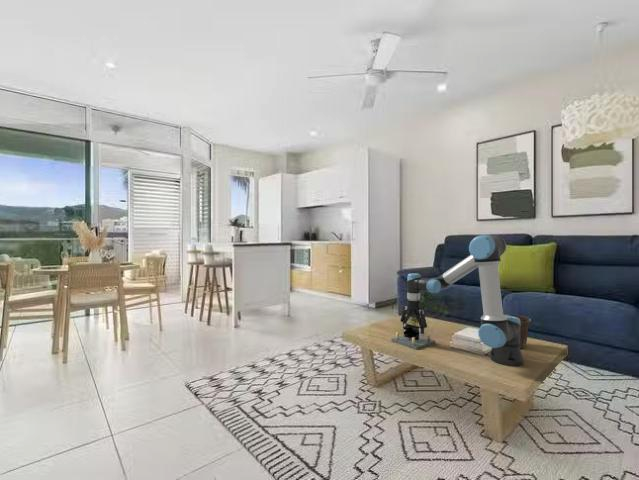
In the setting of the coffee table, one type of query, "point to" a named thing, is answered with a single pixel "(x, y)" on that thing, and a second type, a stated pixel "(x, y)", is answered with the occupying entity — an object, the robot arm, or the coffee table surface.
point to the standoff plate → (417, 342)
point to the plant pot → (523, 329)
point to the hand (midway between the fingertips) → (413, 336)
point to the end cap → (411, 331)
